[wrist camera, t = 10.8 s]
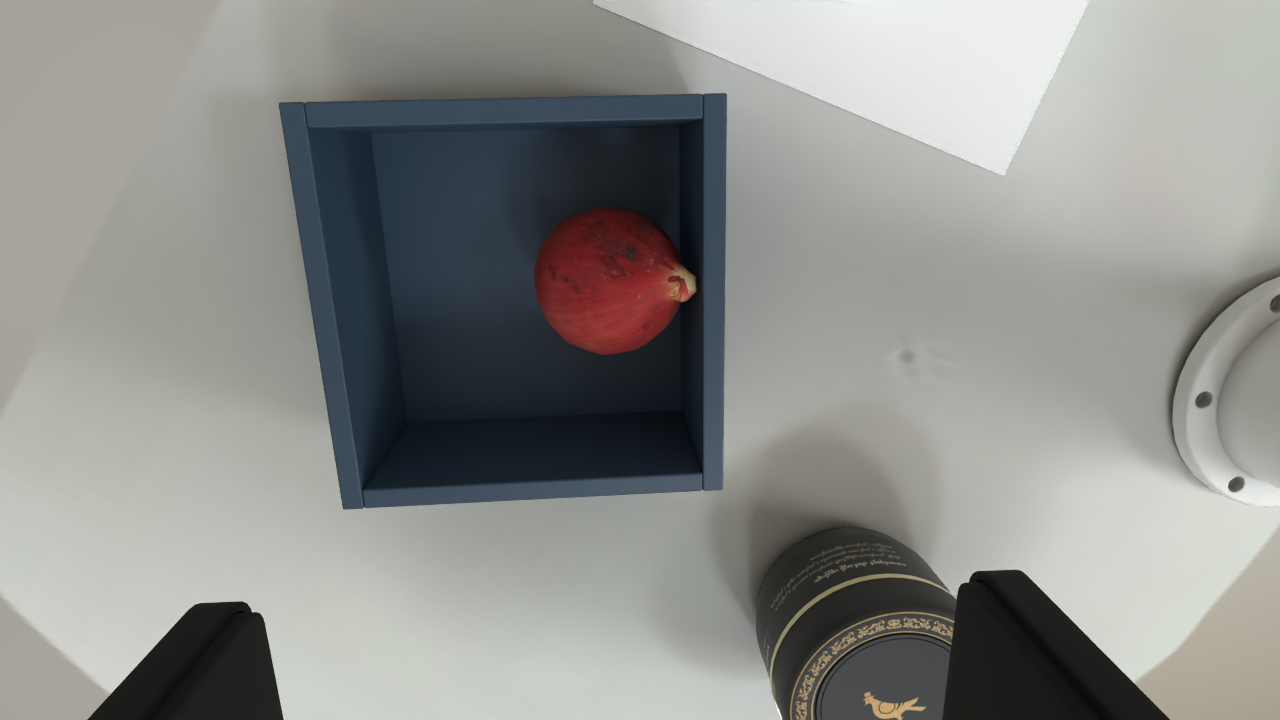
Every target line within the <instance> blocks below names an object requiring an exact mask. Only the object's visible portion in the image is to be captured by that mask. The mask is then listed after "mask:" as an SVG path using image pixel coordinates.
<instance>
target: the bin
mask: <svg viewBox="0 0 1280 720" xmlns="http://www.w3.org/2000/svg"><path fill="white" fill-rule="evenodd" d="M279 108H280V115H281V121H282V127H283V134H284V140H285V146H286V152H287V159H288V165H289V171H290V178H291V184H292V190H293V197H294V203H295V209H296V215H297V222H298V228H299V234H300V241H301V247H302V253H303V260H304V266H305V272H306V278H307V285H308V291H309V297H310V304H311V310H312V316H313V323H314V329H315V335H316V341H317V348H318V354H319V360H320V367H321V373H322V379H323V386H324V392H325V398H326V404H327V411H328V417H329V423H330V430H331V436H332V442H333V449H334V455H335V461H336V467H337V474H338V480H339V486H340V493H341V499H342V505H343V509H362V508H364V507H365V508H376V507H396V506H415V505H434V504H454V503H473V502H492V501H512V500H531V499H550V498H569V497H589V496H608V495H627V494H647V493H666V492H685V491H701V490H702V489H703V490H704V491H710V490H722V489H723V436H724V335H725V234H726V133H727V94H725V93H715V94H703V95H702V94H669V95H621V96H573V97H525V98H477V99H429V100H381V101H333V102H306V103H304V102H285V103H279ZM596 207H603V208H616V209H622V210H629V211H633V212H636V213H638V214H641V215H643V216H644V217H646V218H647V219H649V220H650V221H651V222H653V223H654V224H655V225H657V226H658V227H660V228H661V229H662V230H664V231H665V232H666V234H667V235H668V236H669V237H670V239H671V240H672V242H673V244H674V245H675V247H676V249H677V250H678V252H679V254H680V256H681V260H682V264H683V266H684V267H685V268H686V269H687V270H688V271H689V272H691V273H692V274H693V275H694V276H695V277H696V281H695V284H696V292H695V293H694V294H693V295H692V296H691V297H690V298H689V299H688V301H684V302H681V303H680V306H679V308H678V310H677V311H676V313H675V315H674V317H673V318H672V320H671V322H670V323H669V324H668V326H667V327H666V328H665V329H664V330H663V331H661V332H660V333H659V334H658V335H657V336H655V337H654V338H653V339H652V340H650V341H649V342H648V343H647V344H645V345H643V346H641V347H639V348H638V349H636V350H631V351H626V352H621V353H616V354H603V355H601V354H597V353H594V352H591V351H588V350H585V349H583V348H580V347H578V346H575V345H573V344H570V343H568V342H566V341H565V340H564V338H563V337H562V336H561V335H560V334H559V333H558V332H557V331H556V330H555V329H554V328H553V327H552V326H551V325H550V323H549V322H548V321H547V319H546V318H545V316H544V313H543V311H542V309H541V306H540V304H539V302H538V299H537V296H536V288H535V280H534V269H535V265H536V260H537V256H538V251H539V248H540V247H541V245H542V244H543V243H544V242H545V240H546V239H547V238H548V236H549V235H550V234H551V233H552V231H553V230H554V229H555V228H556V227H557V225H558V224H559V223H560V222H561V221H562V220H564V219H567V218H569V217H572V216H574V215H577V214H579V213H582V212H585V211H588V210H591V209H594V208H596Z"/></svg>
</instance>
